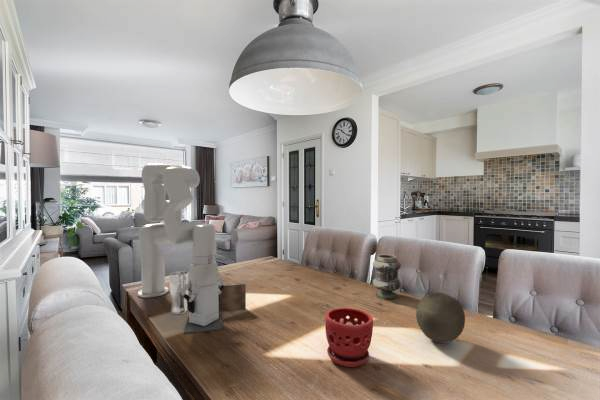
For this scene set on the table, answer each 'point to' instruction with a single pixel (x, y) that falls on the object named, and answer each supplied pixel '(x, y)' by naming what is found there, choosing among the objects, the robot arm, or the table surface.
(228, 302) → the wood grain panel
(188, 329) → the mat
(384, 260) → the apothecary jar
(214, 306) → the supplement box
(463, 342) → the table surface
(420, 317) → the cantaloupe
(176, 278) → the metal tumbler
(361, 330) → the plant pot
